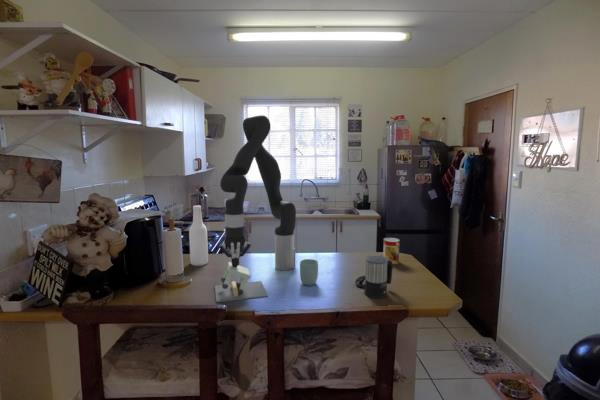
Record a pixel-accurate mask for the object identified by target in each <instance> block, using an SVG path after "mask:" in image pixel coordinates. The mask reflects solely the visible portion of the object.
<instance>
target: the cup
mask: <svg viewBox="0 0 600 400" xmlns="http://www.w3.org/2000/svg"><path fill="white" fill-rule="evenodd" d="M299 275H300V277H299V278H300V281H301V284H302V285H304V286H311V287H312V286H314V285H315V284H316V283H317V281H318V277H319V276H318V275H319V262H318V260H316V259H309V258H308V259H307V258H305V259H301V260H300V262H299Z"/></svg>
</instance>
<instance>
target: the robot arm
mask: <svg viewBox="0 0 600 400" xmlns="http://www.w3.org/2000/svg"><path fill="white" fill-rule="evenodd" d="M242 130H243V133H244V136H245V139H246V140H247V141H246V143H245V144H244V145H243V146H242V147H241V148H240V149H239V151H238V152H237V154H236V156H235V157H234V160H233V163H232V165H230V166H229V168H228V169H227V170H226V171H225V172H224V173H223V175H222V177H221V179H220V182H219V185H220V189H221V190H222V191H223V192H225V193H229V194H230V193H233V194H235V195H234V197H232V198H228V199H226V201H225V204H224V205H225V206H224V207H225V209H224V210H225V218H224V231H225V232H224V233H225V234H224V237H225V238H224V240H223V243H220V244H219V249H220V250H221V251H222V252H223V253H224V254H225V256H226V257H227V258H231V263H232V266H234V267H237V266H240V258H241V257H244V256H245V254H246V253H247V252H248V250H249V249H250V248H251V246H252V245H251V243H250V242H248V241H247V239H246V238H245V217H244V202H245V198H246V194H247V190H248V185H249V184H248V179H247V178H246V177H245V176H246V175H247V174H248V173H249V171H250V169H251V166H252V164H253V162H254V159H255V162H256V165H257V167H258V168H257V169H258V171H259V174H260V179H261V180H262V183H263V186H264V189H265V192H266V195H267V199H268V203H269V207H270V208H269V209H270V212H271V214H272V216H273V218H274V219H277V220H280V223H279V226H276V227H275V229H274V262H275V263H274V266H275V269H276V270H279V271H290V270H293V269H294V268H296V248H295V247H294V246H295V244H294V243H295V241H294V240H295V239H294V238H295V237H294V235H295V234H294V232H295V231H294V230H295V229H296V219H297V208H296V206H295V204H294V203H293V202H291V201H290V202H289V201H285V200H284V199H283V197H282V193H281V190H280V187H281V180H282V173H281V170H280V165H279V163H278V162H277V160H276V158H275V157H274V156H273V155H272V154H271V153H270V152H269V151H268V150H267V149H266V148H265V146H264V145H263V143H264V142H265V140H266V139H267V138H268V136H269V134H270V131H271V121H270V119H269V118H268V117H267V116H266V115H264V114H263V115H262V114H261V115H260V114H259V115H254V116H250V117H249V116H248V117H246V118H245V119H243V121H242ZM243 246H244V247H243ZM226 247H227V248H228V249H229V250H230V252H229V251H228V249H226ZM240 250H241V251H240Z"/></svg>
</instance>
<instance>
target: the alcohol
mask: <svg viewBox="0 0 600 400" xmlns="http://www.w3.org/2000/svg"><path fill="white" fill-rule="evenodd" d="M192 210H193V211H192V213H193V215H192V216H193V217H192V224H191V225H190V227H189V230H188V238H189V254H190V255H189V257H190V259H189V260H190V264H191V265H192V266H194V267H201V266H205V265H207V264H208V263H209V246H208V229H207V226H206V225H205V224H204V222H203V214H202V206H201V205H199V204H198V205H193V206H192Z"/></svg>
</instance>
